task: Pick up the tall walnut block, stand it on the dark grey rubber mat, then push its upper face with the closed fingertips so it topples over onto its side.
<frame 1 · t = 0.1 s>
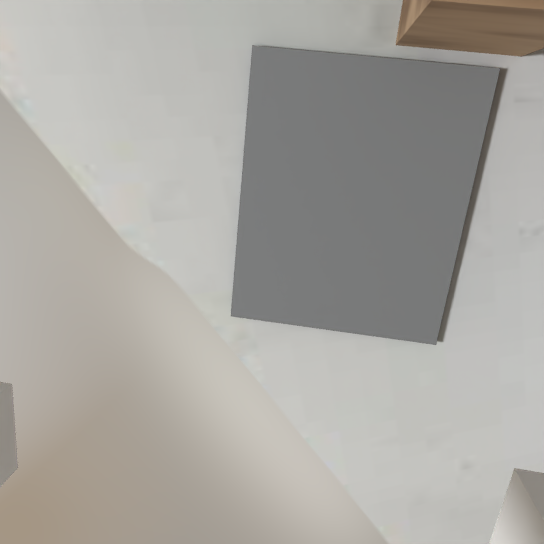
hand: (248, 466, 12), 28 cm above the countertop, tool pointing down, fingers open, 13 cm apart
walnut block: (467, 4, 32), on the countertop
mat: (350, 204, 37), on the countertop
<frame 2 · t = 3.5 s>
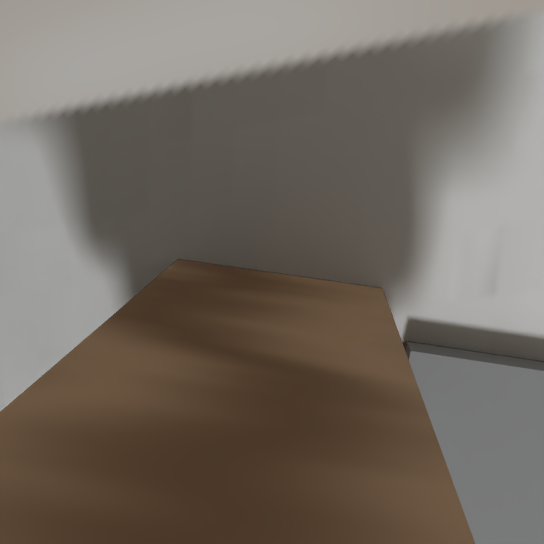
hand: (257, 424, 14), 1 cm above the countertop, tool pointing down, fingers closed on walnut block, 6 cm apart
walnut block: (262, 406, 15), on the countertop, touching gripper
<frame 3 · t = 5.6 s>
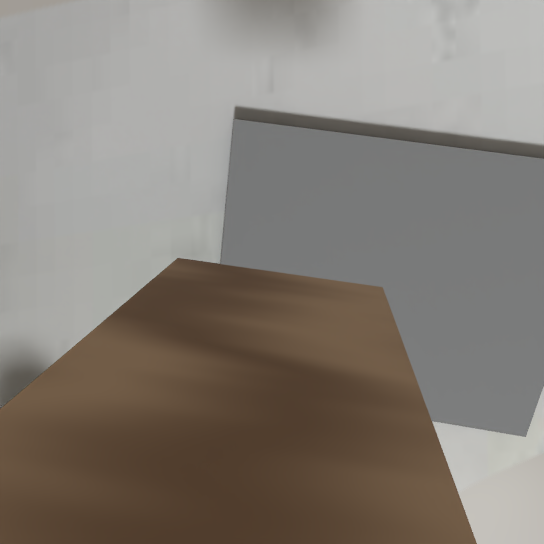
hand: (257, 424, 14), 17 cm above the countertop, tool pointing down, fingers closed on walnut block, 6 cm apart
walnut block: (262, 405, 15), point 16 cm above the countertop, touching gripper
mat: (388, 285, 30), on the countertop
when the fingers open (2 cm above the countertop, at t = 8.2 s): walnut block stays where it is, resting on mat.
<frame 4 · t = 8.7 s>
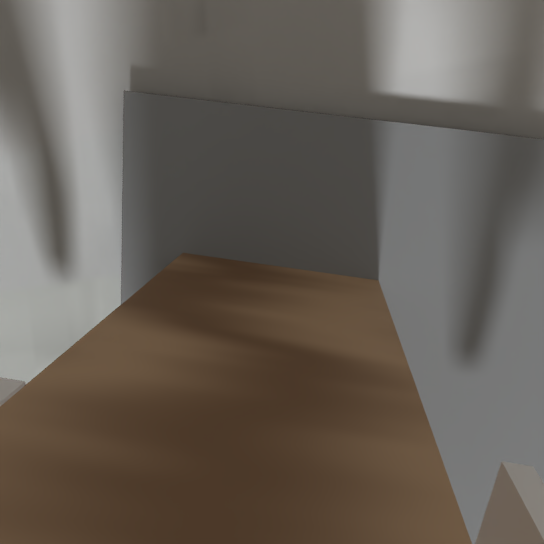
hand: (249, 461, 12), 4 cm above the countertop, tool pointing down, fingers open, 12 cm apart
walnut block: (263, 394, 15), point 1 cm above the countertop, touching mat
mat: (443, 414, 15), on the countertop
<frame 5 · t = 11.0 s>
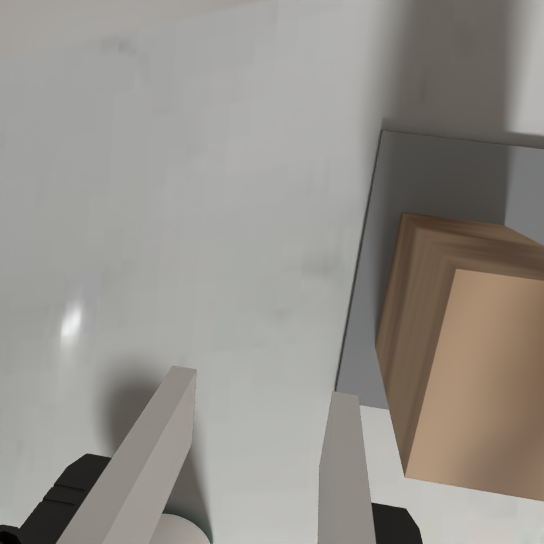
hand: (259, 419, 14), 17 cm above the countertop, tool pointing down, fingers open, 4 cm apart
walnut block: (436, 289, 28), point 1 cm above the countertop, touching mat
mat: (531, 300, 29), on the countertop
can: (173, 539, 38), on the countertop
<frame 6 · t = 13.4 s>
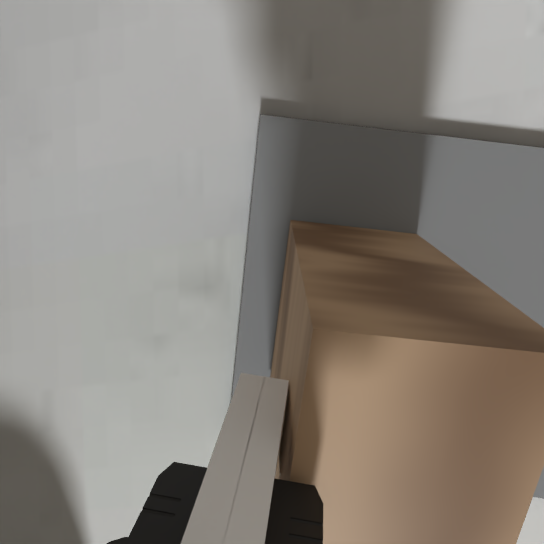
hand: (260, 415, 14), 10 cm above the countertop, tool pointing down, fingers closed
walnut block: (338, 315, 23), point 1 cm above the countertop, tilted 6°, touching mat
mat: (456, 326, 23), on the countertop
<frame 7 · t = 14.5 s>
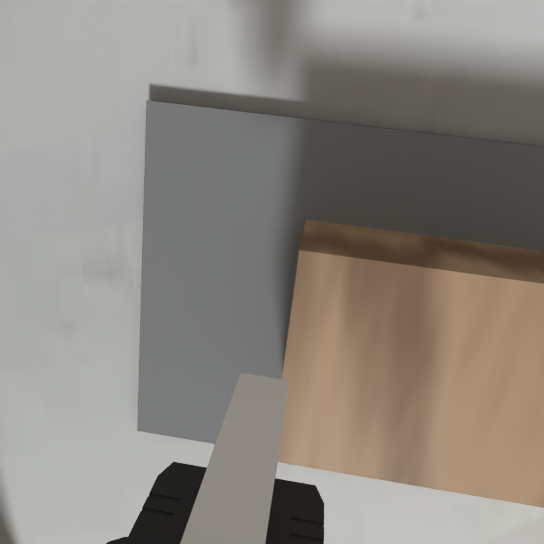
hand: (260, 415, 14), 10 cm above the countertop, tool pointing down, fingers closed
walnut block: (289, 331, 20), point 4 cm above the countertop, tilted 90°, touching mat
mat: (353, 311, 23), on the countertop
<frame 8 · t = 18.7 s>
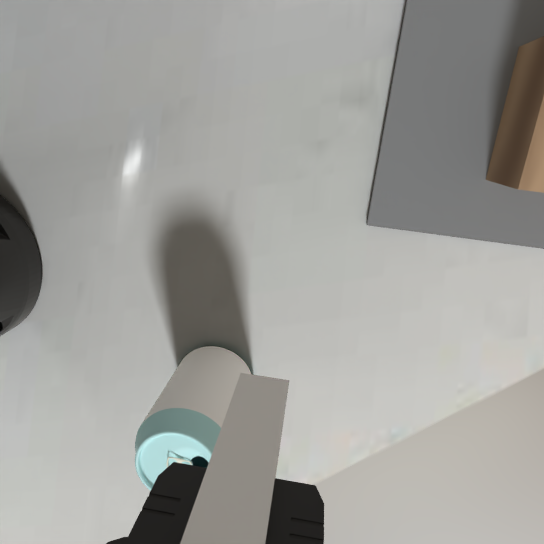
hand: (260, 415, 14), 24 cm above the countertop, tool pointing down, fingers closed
walnut block: (518, 114, 30), point 4 cm above the countertop, tilted 90°, touching mat
mat: (541, 121, 33), on the countertop
can: (216, 376, 42), on the countertop
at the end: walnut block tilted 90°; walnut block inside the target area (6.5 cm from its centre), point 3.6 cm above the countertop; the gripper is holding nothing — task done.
